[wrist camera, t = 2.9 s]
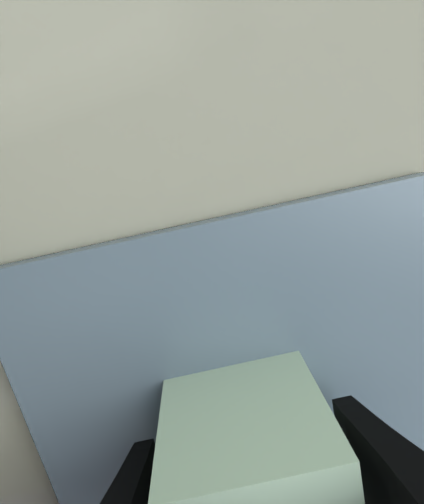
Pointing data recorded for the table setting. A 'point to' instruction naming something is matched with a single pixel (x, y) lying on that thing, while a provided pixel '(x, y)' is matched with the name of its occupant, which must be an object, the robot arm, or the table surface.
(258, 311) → the plate
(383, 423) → the robot arm
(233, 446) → the sage brick
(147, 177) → the table surface
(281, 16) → the table surface
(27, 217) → the table surface
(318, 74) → the table surface
